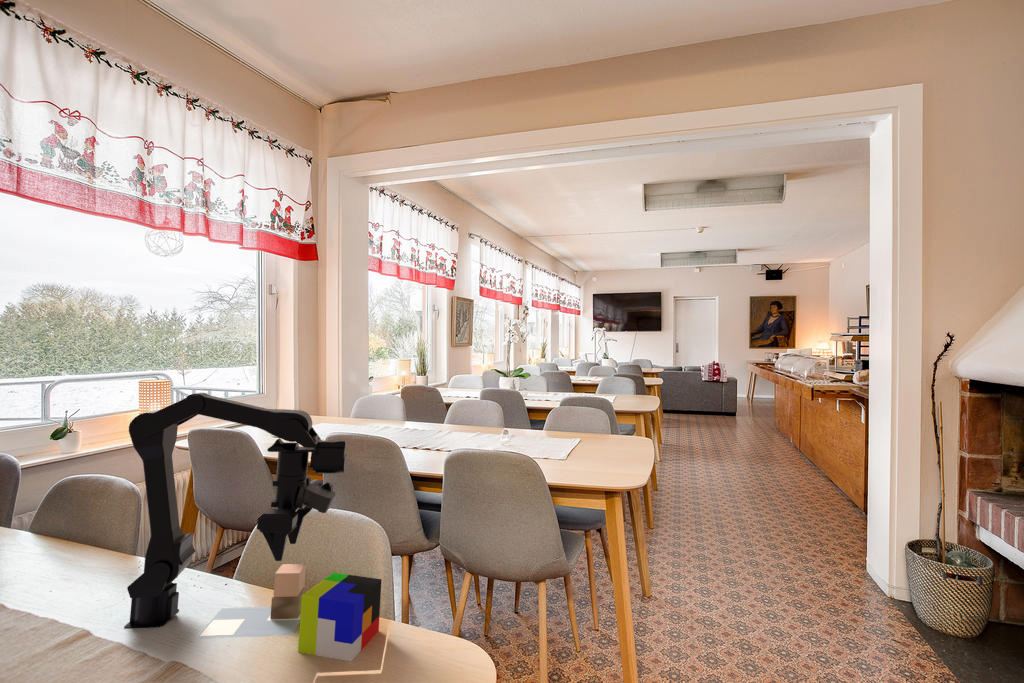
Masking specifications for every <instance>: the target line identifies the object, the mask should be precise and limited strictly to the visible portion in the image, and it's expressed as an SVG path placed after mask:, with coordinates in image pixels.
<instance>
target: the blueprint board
mask: <svg viewBox="0 0 1024 683" xmlns="http://www.w3.org/2000/svg"><path fill="white" fill-rule="evenodd" d="M300 614H301V613H300ZM270 617H271V606H259V607H258V606H257V607H254V606H253V607H222V608H221V609H219V611H218V612H217V613H216V614H215V615H214V616H213V618H212V619H211V620H210V621H209V622H208V623H207V624H206V625H205V627H203V629H202V630H200V632H199V633H198V635H196V637H195V639H216V638H217V639H218V638H219V639H223V638H243V637H245V638H246V637H248V638H249V637H252V638H253V637H276V636H277V637H279V636H280V637H281V636H282V637H283V636H293V635H294V634H295V631H296V630H297V628H298V625H300V615H299V617H298V618H294V619H270Z"/></svg>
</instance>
